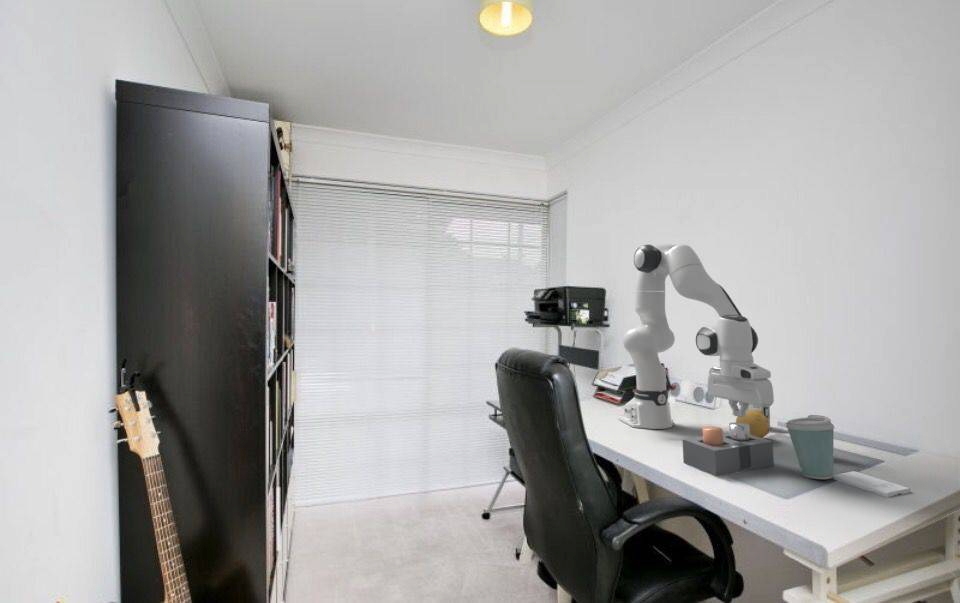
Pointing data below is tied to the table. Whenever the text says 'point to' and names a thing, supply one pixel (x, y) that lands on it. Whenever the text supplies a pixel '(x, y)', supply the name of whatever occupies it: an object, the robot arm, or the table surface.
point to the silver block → (739, 432)
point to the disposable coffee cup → (813, 445)
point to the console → (728, 455)
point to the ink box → (763, 410)
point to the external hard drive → (871, 484)
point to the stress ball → (755, 423)
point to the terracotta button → (712, 436)
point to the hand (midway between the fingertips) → (739, 416)
